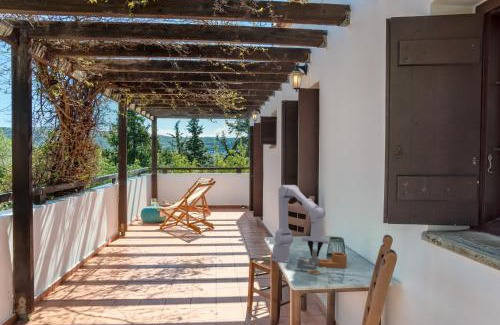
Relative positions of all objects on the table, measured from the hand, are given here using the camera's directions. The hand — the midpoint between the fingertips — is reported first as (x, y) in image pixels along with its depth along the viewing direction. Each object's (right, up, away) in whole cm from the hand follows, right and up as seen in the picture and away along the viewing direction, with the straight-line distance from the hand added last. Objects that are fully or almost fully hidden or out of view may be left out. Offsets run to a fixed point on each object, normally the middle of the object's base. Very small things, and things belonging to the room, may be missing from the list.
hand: (314, 255), depth 210 cm
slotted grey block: (0, -5, 0) cm, 5 cm away
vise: (-3, -8, +8) cm, 12 cm away
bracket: (+11, -10, +15) cm, 21 cm away
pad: (-1, -9, 0) cm, 9 cm away
